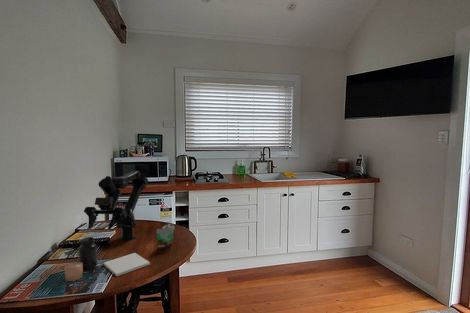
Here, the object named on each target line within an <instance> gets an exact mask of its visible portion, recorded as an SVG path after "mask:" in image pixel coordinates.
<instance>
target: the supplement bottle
mask: <svg viewBox="0 0 470 313" xmlns="http://www.w3.org/2000/svg"><path fill="white" fill-rule="evenodd" d="M77 251H78V260H79V261H78V262H82V264H83V271H89V270H92V269H94V268H96V267H97V266H98V262H99V261H98V246H97V244H96V243H95V240H94V237H90V236H89V237H83V238H82V239H80V246H79V247H78V250H77Z"/></svg>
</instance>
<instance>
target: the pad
mask: <svg viewBox="0 0 470 313" xmlns="http://www.w3.org/2000/svg"><path fill="white" fill-rule="evenodd" d="M150 264H151V262H150V261H149V260H148V259H146V258H144V257H142V255H139V254H138V253H136V252H133V253H129V254H127V255H124V256H120V257H117V258H114V259H112V260H108V261H105V262H103V266H104V267H105V268H106V269H108V271H109V272H111V273H112V274H114V276H116V277H119V276H121V275H125V274H127V273H131V272H133V271H136V270H138V269H142V268H144V267H147V266H149V265H150Z"/></svg>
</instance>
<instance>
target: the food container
mask: <svg viewBox="0 0 470 313" xmlns="http://www.w3.org/2000/svg"><path fill="white" fill-rule="evenodd" d="M174 230H175V225H174V223H173V222H169V221H167V222H166V224H165V225H163V226H161V227H160V228H156V235H157V249H167V248H170V247H172V246H173V244H174V243H173V240H174V238H173V237H174Z"/></svg>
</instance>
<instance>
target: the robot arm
mask: <svg viewBox="0 0 470 313" xmlns="http://www.w3.org/2000/svg"><path fill="white" fill-rule="evenodd" d="M129 183H131V185H132V190H131V192H130V195H129V197H128V198H127V199H128V200H127V202H126V204H125V207H120V206H119V207H118V205H119V204H118V201H119V198H120V197H123V193H122V192H121V190H125V189H126V188H127V187H128V184H129ZM148 184H149V179H148V177H147V176H146V175H145V174H143V173H141V171H139V170H131V171H130V172H128V173H126V174H124V175H121V176H116V177H115V176H114V177H111V176H109V175H106V176H105V178H102V179H101V180H100V181H99V182H98V187H99V188H100V189H101V191H102V192H103V193H104V194H105V195H106V196H105V197H96V198H95V201H94V205H95V206H97V207H98V208H99V209H97V207H95V206H86V207H85V208H84V210H83V212H84V214H86V216H87V217H88V226H87V227H88V228H87V229H88V230H91V229H92V228H93V226H94V225H95V223H96V221H97V219H98V216H99V215H112V216H111V219H110V222H109V223H108V226H107V230H108V231H110V230H111V229H112V228H113V227H114V226H115V225H116V226H117V229H118V228H119V229H121V236H119V237H118V238H119V239H120V240H122V241H127V240H132V239H134V238H135V239H136V236H135V235H134V229H133V228H136V227H137V222H138V221H137V220H136V218H135V214H134V211H135V208H136V206H137V203H138V201H139V198H140V195H141V193H142V191H143V190H145V189H146V188H147V185H148Z"/></svg>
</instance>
